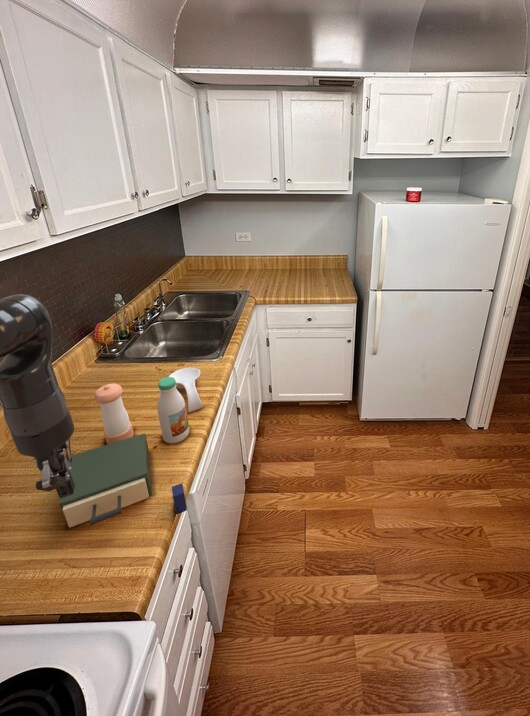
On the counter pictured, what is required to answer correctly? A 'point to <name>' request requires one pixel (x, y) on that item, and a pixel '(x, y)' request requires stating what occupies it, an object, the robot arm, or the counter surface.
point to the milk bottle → (172, 412)
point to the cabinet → (109, 468)
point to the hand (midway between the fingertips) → (67, 493)
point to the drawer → (105, 503)
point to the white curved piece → (188, 385)
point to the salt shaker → (113, 413)
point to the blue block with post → (179, 498)
